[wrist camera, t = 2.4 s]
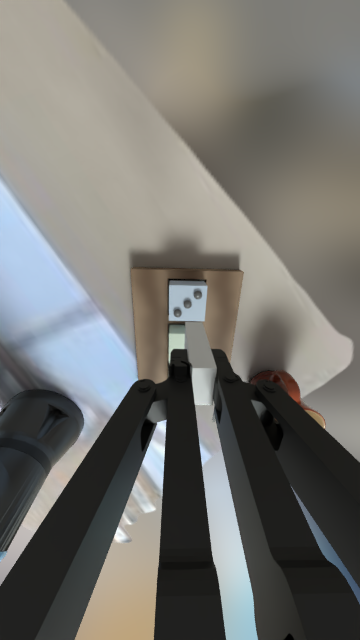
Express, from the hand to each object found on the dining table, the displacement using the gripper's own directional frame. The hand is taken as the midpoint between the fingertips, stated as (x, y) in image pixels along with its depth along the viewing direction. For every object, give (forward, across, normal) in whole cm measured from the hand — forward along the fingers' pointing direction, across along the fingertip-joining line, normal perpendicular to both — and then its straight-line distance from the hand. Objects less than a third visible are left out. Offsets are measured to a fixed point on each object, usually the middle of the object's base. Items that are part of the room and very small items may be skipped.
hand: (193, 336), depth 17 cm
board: (+14, 0, -7) cm, 16 cm away
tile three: (+13, 0, 0) cm, 13 cm away
